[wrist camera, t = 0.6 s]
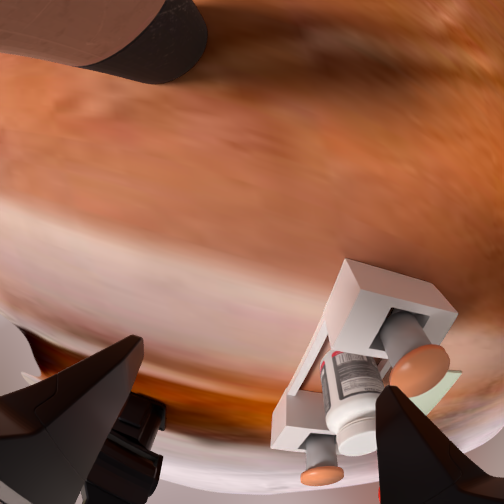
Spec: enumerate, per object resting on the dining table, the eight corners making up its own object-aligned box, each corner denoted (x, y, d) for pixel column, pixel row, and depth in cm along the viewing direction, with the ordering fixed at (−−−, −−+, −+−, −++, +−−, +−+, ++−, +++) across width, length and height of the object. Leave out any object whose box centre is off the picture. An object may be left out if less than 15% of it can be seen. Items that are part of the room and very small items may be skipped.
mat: (421, 417, 28) (422, 419, 28) (369, 416, 28) (369, 419, 28) (460, 371, 25) (462, 373, 25) (408, 366, 25) (409, 369, 24)
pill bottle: (349, 385, 26) (363, 463, 17) (308, 370, 26) (313, 455, 17) (383, 351, 24) (412, 430, 15) (342, 332, 24) (363, 420, 15)
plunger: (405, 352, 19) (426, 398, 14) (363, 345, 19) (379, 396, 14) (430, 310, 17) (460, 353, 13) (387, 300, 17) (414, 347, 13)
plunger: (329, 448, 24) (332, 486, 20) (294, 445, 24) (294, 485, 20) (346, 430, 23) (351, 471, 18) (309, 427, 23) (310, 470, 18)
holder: (343, 422, 29) (347, 454, 24) (272, 413, 29) (270, 448, 24) (432, 283, 21) (458, 313, 17) (344, 257, 21) (360, 289, 17)
